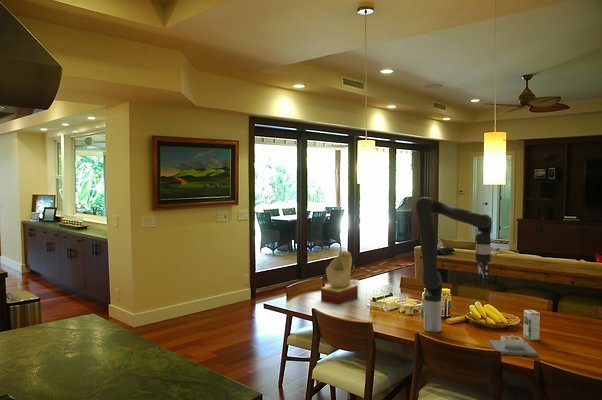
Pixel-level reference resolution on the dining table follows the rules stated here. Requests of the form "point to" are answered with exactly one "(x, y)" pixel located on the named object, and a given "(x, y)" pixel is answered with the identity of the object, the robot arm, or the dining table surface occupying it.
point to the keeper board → (510, 351)
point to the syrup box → (531, 324)
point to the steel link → (512, 342)
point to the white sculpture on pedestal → (340, 281)
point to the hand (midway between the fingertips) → (483, 283)
